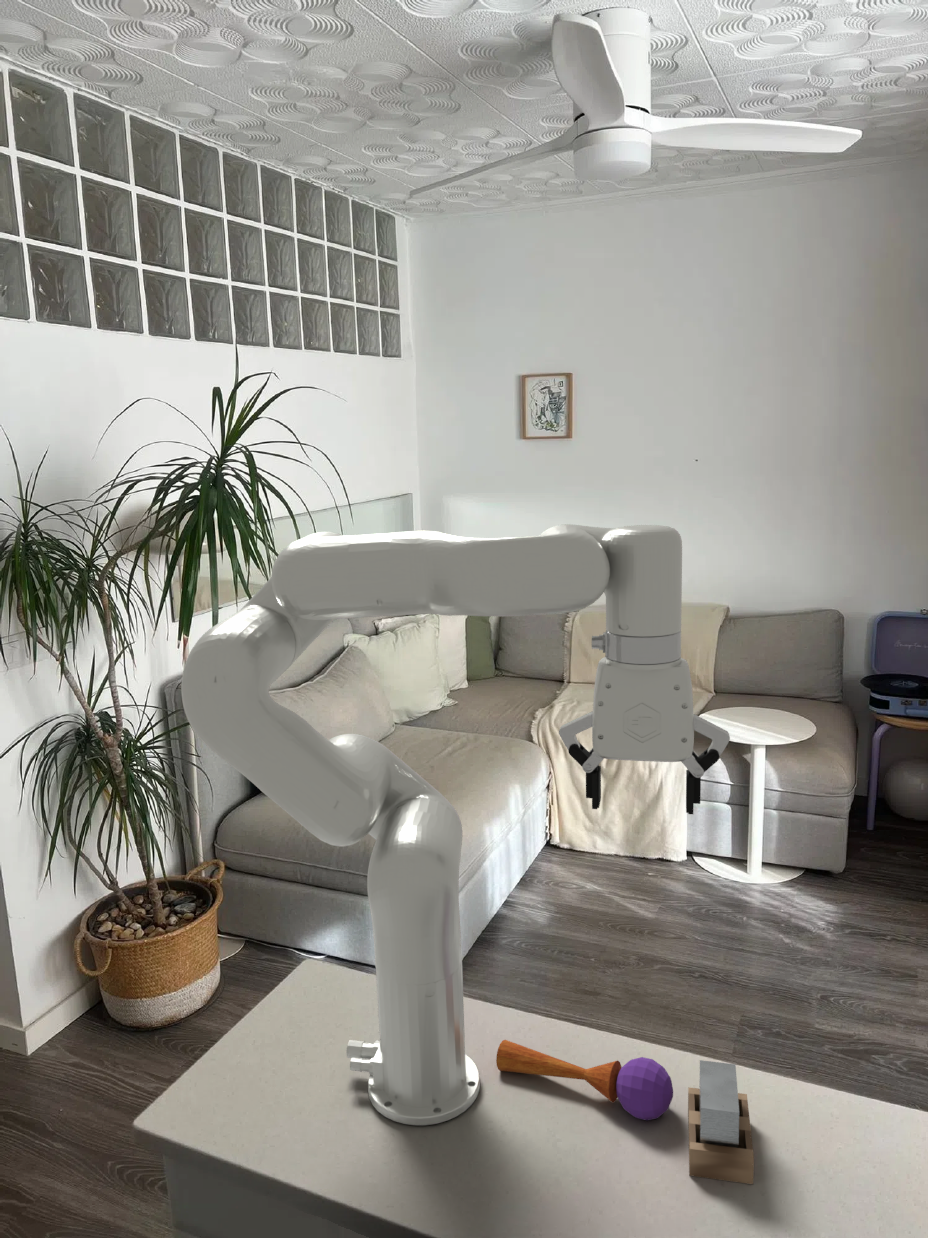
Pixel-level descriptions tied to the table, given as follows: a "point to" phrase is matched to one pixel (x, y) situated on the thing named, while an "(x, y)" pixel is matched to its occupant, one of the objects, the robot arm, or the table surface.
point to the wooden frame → (720, 1147)
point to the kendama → (600, 1078)
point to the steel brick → (718, 1104)
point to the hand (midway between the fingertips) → (642, 807)
